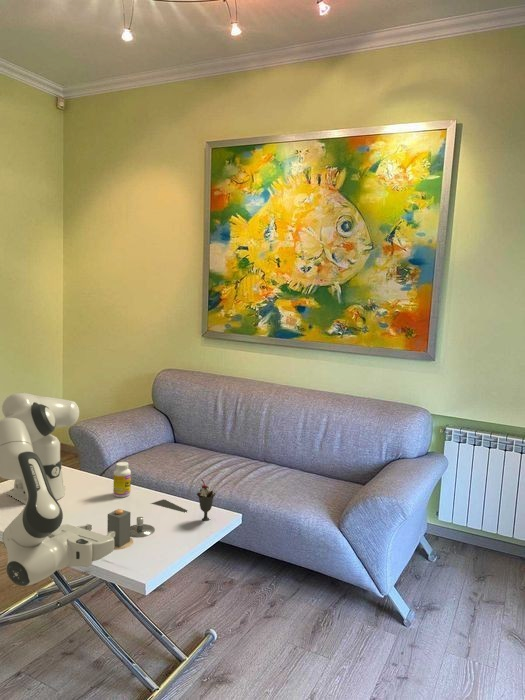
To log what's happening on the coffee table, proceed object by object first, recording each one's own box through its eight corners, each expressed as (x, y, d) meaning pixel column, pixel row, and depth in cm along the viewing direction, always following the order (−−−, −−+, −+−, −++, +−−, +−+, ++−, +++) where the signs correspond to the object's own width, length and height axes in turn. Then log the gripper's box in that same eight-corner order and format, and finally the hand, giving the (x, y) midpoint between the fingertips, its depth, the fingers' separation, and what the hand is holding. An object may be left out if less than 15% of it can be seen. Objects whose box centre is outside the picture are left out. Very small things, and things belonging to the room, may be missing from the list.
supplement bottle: (125, 498, 201) (126, 467, 200) (110, 496, 202) (110, 465, 201) (133, 492, 207) (133, 462, 206) (118, 490, 209) (118, 460, 207)
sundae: (196, 517, 186) (197, 477, 185) (214, 517, 187) (215, 477, 185) (195, 525, 180) (196, 483, 178) (214, 525, 180) (215, 484, 179)
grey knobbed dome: (118, 534, 170) (118, 520, 170) (138, 523, 179) (138, 509, 179) (141, 541, 166) (141, 527, 165) (160, 530, 175) (161, 516, 174)
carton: (107, 543, 163) (107, 511, 162) (118, 537, 167) (118, 506, 166) (119, 547, 160) (119, 515, 159) (130, 541, 165) (130, 509, 164)
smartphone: (173, 516, 185) (148, 503, 195) (173, 518, 185) (148, 506, 195) (189, 510, 191) (164, 498, 201) (188, 512, 191) (163, 501, 201)
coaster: (98, 546, 162) (98, 544, 162) (118, 535, 170) (118, 533, 170) (119, 553, 158) (119, 551, 158) (139, 542, 166) (139, 540, 166)
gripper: (39, 550, 147) (76, 532, 160) (92, 568, 138) (127, 547, 151) (39, 529, 147) (76, 513, 159) (92, 546, 138) (127, 527, 150)
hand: (101, 530), depth 155 cm, fingers open, 8 cm apart
